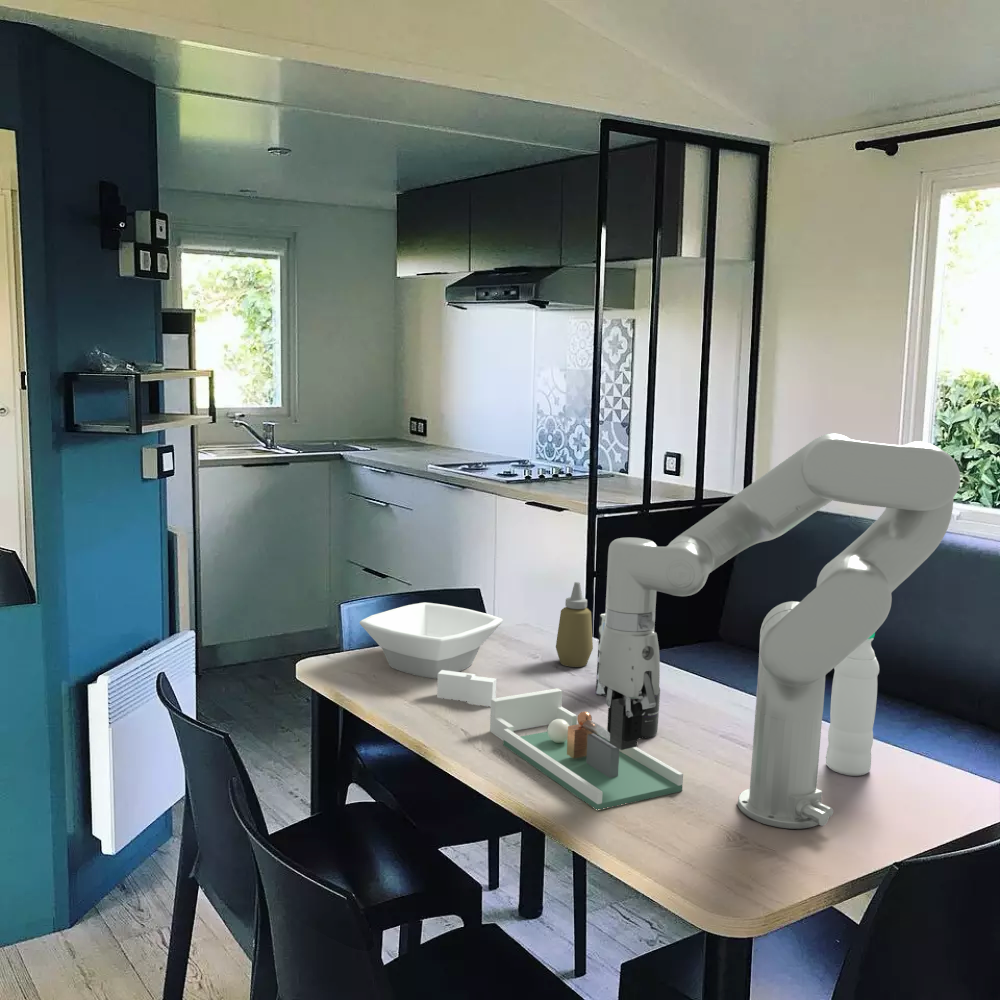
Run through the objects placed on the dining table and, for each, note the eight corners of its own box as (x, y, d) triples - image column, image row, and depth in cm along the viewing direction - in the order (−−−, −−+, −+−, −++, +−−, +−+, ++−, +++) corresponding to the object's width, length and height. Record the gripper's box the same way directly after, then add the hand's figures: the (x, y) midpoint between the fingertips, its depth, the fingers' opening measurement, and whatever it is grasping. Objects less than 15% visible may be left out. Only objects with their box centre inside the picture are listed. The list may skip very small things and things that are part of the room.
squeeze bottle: (593, 670, 218) (597, 587, 216) (555, 668, 218) (559, 586, 216) (590, 659, 226) (594, 579, 224) (554, 657, 226) (557, 578, 224)
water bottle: (816, 763, 172) (828, 618, 168) (849, 758, 174) (861, 615, 171) (845, 779, 165) (858, 629, 162) (879, 774, 168) (893, 626, 164)
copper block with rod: (640, 779, 159) (644, 702, 157) (614, 784, 156) (618, 706, 155) (591, 748, 170) (594, 676, 169) (566, 753, 168) (569, 680, 166)
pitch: (682, 790, 159) (684, 754, 158) (597, 810, 151) (599, 772, 150) (561, 719, 189) (562, 687, 188) (484, 732, 181) (485, 699, 180)
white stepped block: (421, 697, 199) (422, 669, 198) (470, 688, 206) (470, 660, 205) (463, 721, 187) (464, 691, 186) (513, 710, 194) (515, 681, 193)
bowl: (348, 668, 214) (348, 621, 213) (423, 643, 235) (424, 599, 233) (439, 693, 201) (440, 642, 199) (511, 663, 221) (512, 617, 220)
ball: (574, 744, 174) (576, 721, 173) (555, 748, 172) (556, 725, 171) (562, 736, 177) (563, 714, 177) (542, 739, 175) (543, 717, 175)
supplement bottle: (656, 741, 179) (660, 675, 177) (617, 737, 180) (620, 671, 179) (658, 727, 186) (662, 663, 184) (620, 723, 187) (624, 660, 185)
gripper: (684, 630, 150) (676, 750, 153) (618, 605, 164) (612, 715, 167) (643, 636, 147) (636, 758, 149) (579, 609, 161) (574, 721, 163)
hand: (623, 734), depth 158 cm, fingers closed on copper block with rod, 3 cm apart
